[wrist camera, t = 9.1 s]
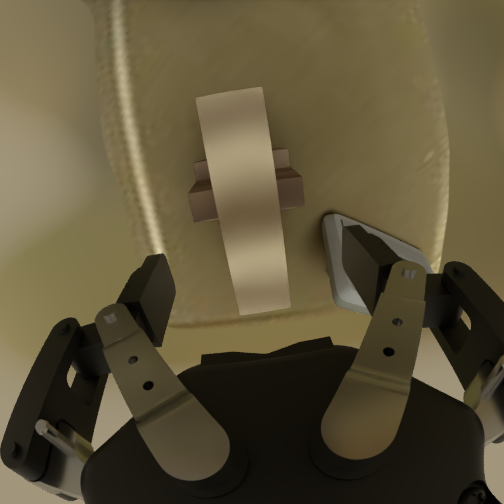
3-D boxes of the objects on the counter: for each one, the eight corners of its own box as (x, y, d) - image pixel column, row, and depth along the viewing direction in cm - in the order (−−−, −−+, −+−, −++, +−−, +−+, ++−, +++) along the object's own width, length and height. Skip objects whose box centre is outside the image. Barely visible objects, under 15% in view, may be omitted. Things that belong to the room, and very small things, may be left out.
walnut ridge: (194, 162, 25) (183, 172, 20) (286, 147, 25) (299, 154, 20) (206, 219, 28) (198, 242, 23) (292, 205, 28) (306, 226, 23)
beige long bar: (203, 103, 18) (195, 98, 14) (257, 93, 18) (261, 86, 14) (239, 287, 25) (240, 315, 21) (283, 280, 25) (290, 307, 21)
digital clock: (424, 254, 31) (471, 298, 22) (384, 304, 35) (418, 358, 25) (341, 185, 27) (391, 220, 18) (293, 252, 30) (317, 312, 21)
